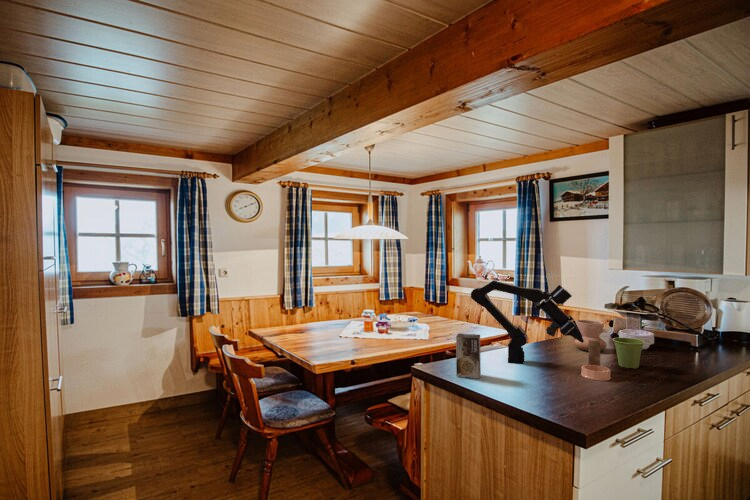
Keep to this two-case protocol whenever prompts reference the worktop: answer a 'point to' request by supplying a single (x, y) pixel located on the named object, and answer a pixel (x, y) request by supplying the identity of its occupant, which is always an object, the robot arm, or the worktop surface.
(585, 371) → the tan shallow dish
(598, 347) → the tall square post
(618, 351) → the plant pot
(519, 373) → the worktop surface
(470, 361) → the coffee box
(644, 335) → the paper bowls
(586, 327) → the ceramic jug
